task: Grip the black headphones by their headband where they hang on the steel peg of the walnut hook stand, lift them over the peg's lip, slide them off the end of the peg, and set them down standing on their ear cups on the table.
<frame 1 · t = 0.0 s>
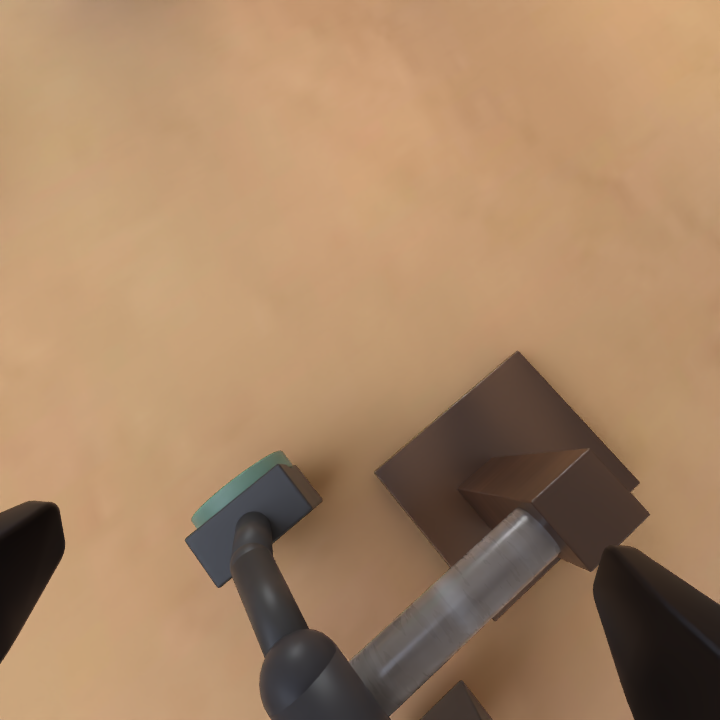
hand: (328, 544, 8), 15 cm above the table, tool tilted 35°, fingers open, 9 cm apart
hook stand: (484, 490, 22), on the table
headphones: (352, 618, 20), point 2 cm above the table, touching hook stand
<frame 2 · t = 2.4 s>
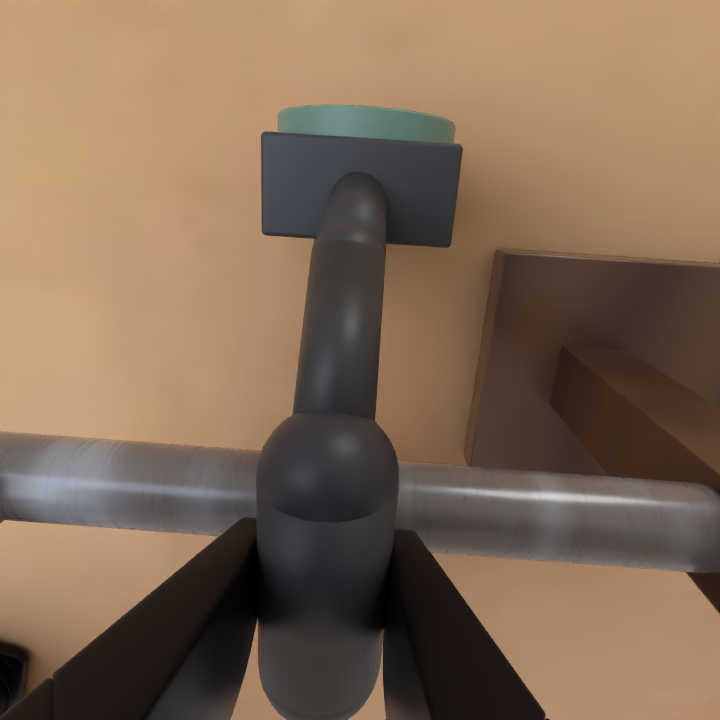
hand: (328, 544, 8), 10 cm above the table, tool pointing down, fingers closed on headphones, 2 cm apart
hook stand: (574, 366, 17), on the table
headphones: (354, 364, 16), point 2 cm above the table, touching gripper, hook stand
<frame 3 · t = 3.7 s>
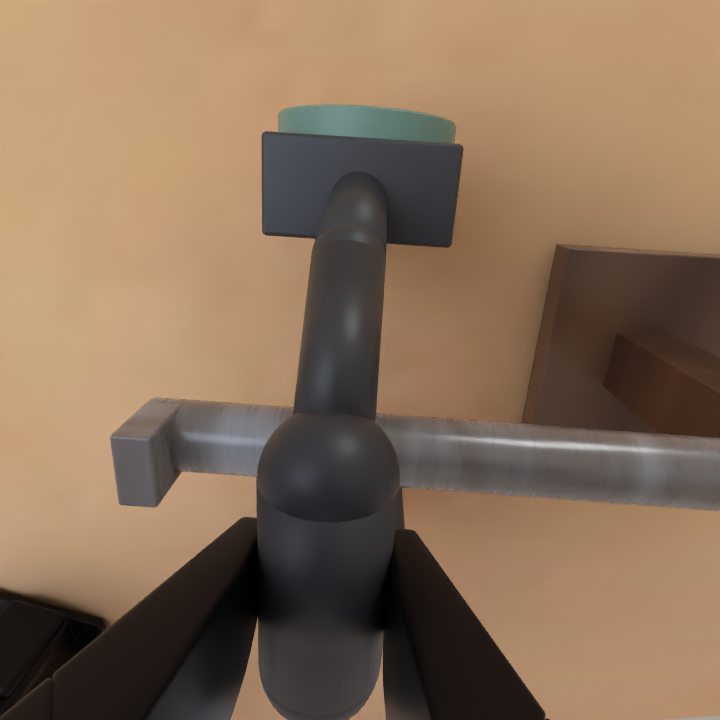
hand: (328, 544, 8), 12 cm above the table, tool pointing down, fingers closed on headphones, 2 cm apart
hook stand: (623, 352, 19), on the table
headphones: (354, 364, 16), point 3 cm above the table, touching gripper
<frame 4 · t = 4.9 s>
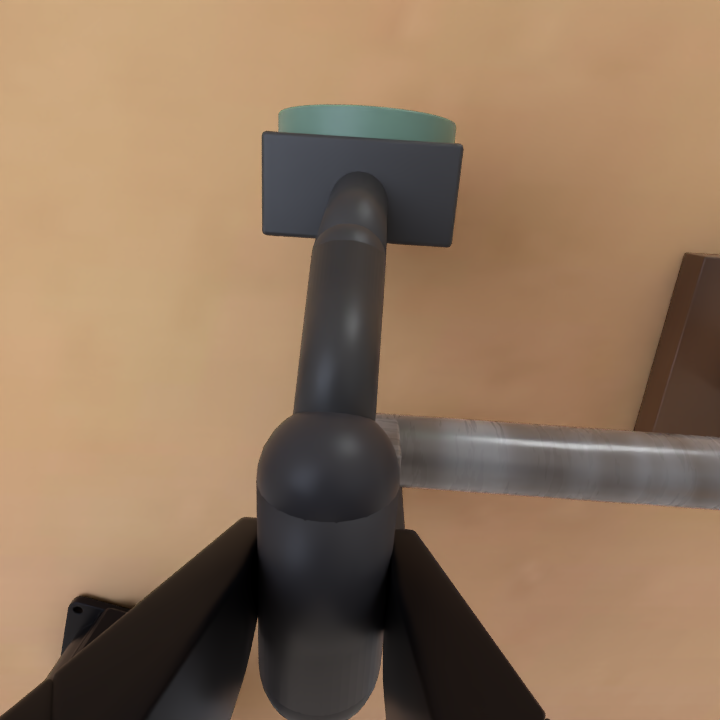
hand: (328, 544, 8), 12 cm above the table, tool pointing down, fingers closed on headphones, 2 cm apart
headphones: (355, 364, 16), point 3 cm above the table, touching gripper
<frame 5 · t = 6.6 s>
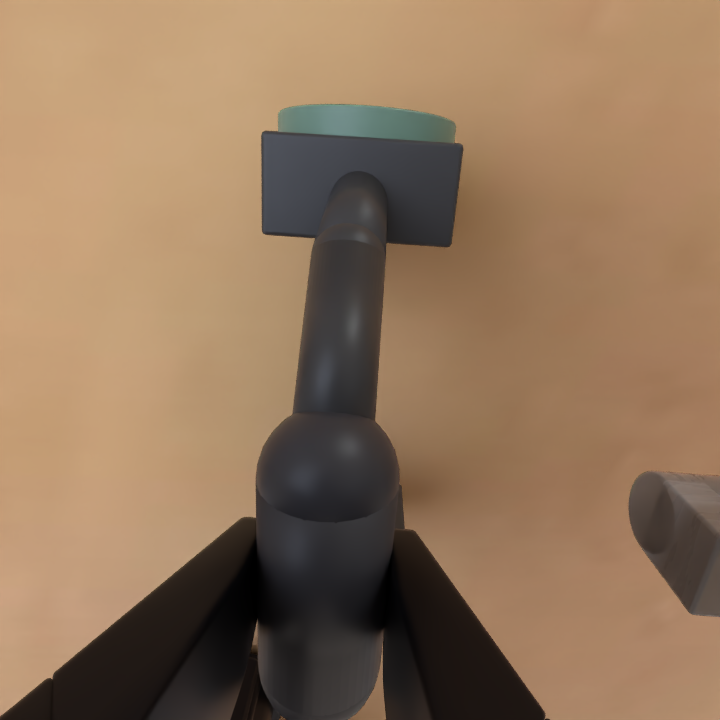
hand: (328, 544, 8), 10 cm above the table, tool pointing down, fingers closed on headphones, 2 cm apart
headphones: (354, 364, 16), point 2 cm above the table, touching gripper
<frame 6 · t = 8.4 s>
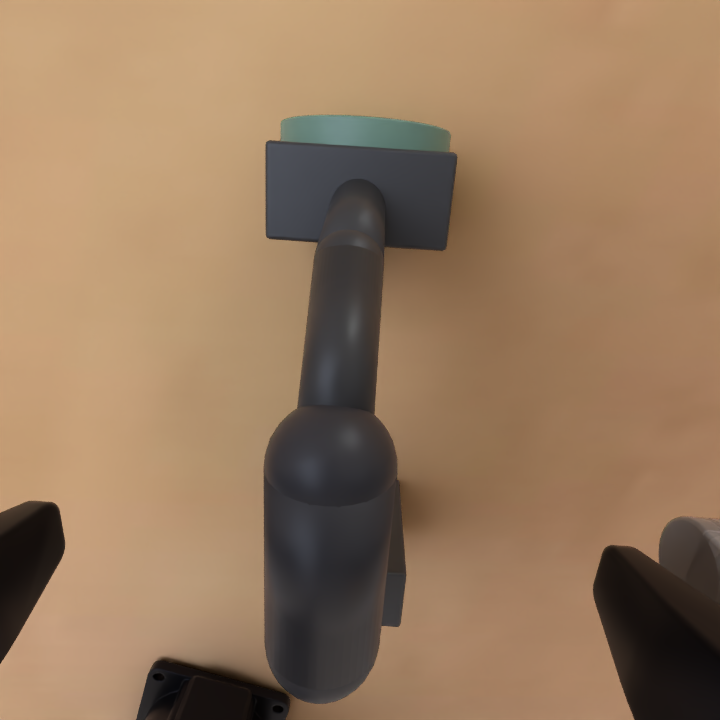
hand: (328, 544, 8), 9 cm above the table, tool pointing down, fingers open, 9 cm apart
headphones: (353, 363, 16), on the table
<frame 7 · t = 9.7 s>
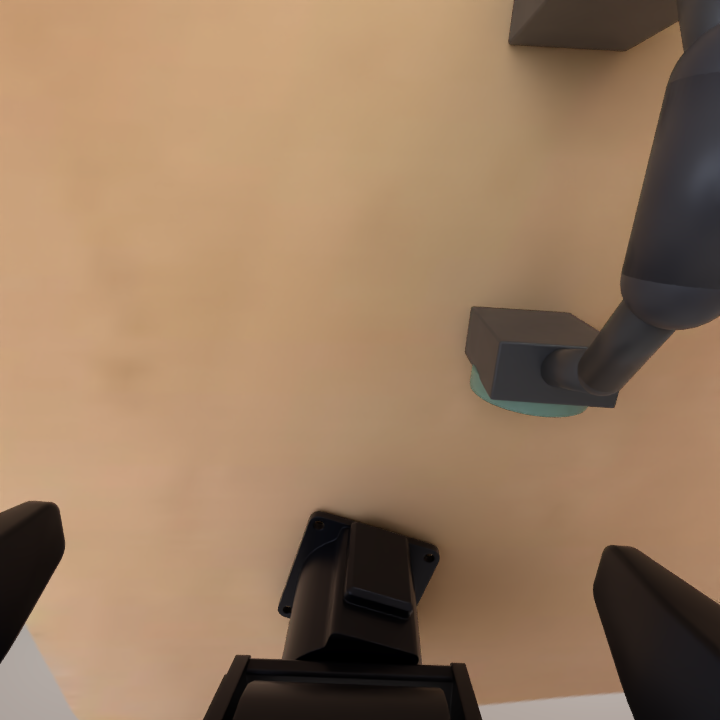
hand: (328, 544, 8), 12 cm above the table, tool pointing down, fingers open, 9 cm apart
headphones: (541, 190, 17), on the table
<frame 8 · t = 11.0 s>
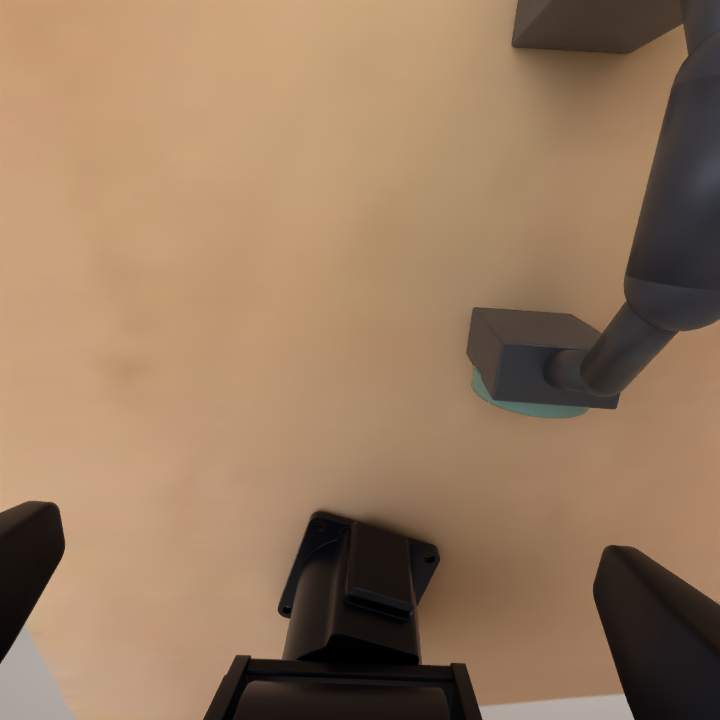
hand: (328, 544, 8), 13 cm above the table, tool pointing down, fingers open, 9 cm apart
headphones: (544, 191, 18), on the table
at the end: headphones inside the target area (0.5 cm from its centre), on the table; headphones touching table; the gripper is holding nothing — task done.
